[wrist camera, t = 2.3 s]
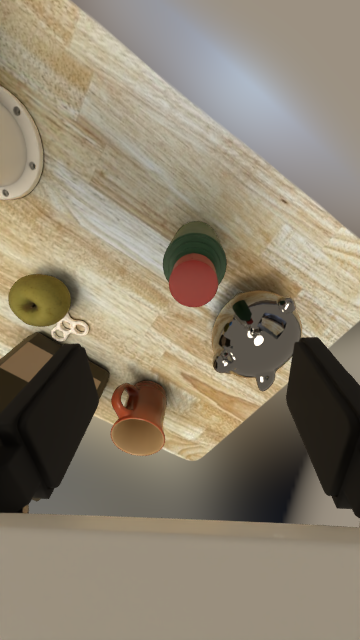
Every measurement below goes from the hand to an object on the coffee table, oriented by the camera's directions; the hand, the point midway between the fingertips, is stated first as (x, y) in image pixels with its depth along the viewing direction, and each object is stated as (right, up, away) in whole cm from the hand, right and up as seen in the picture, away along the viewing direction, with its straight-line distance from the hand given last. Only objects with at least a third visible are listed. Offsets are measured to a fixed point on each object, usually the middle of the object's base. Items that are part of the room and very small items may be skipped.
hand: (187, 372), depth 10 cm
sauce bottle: (+2, +13, +26) cm, 29 cm away
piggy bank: (+10, +3, +31) cm, 32 cm away
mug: (-7, -11, +39) cm, 41 cm away
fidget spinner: (-19, +1, +33) cm, 38 cm away
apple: (-20, +7, +31) cm, 37 cm away
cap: (+1, +5, +10) cm, 11 cm away
